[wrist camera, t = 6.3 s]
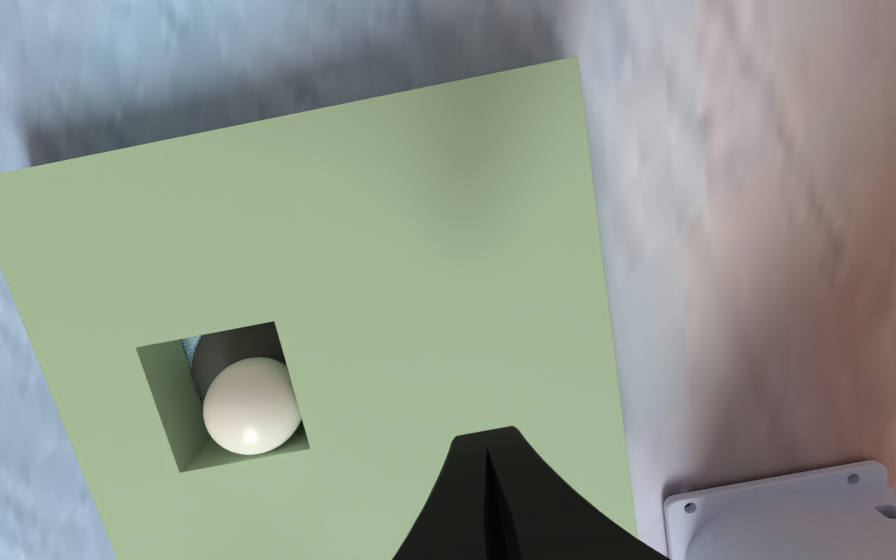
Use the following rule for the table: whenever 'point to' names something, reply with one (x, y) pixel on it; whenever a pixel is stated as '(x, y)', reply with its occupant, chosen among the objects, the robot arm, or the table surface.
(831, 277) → the table surface
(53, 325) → the putting mat
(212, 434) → the ball
